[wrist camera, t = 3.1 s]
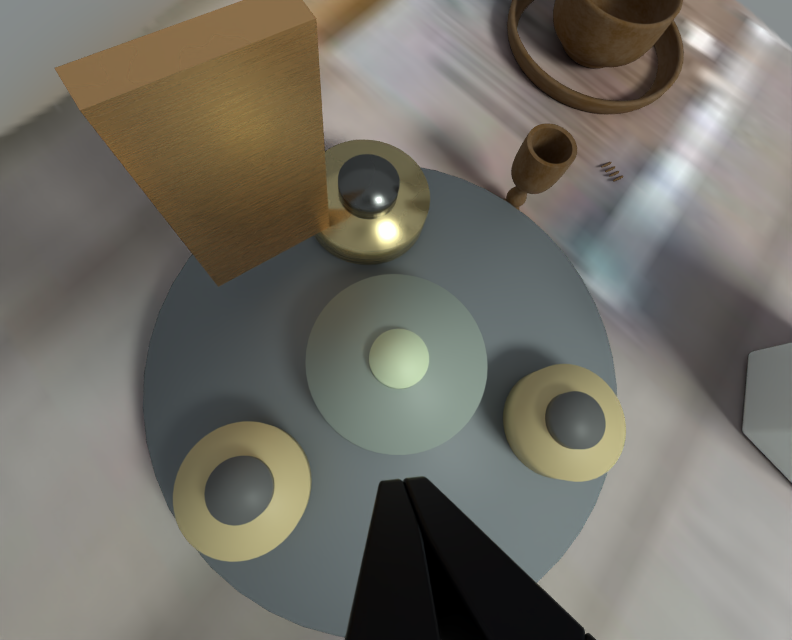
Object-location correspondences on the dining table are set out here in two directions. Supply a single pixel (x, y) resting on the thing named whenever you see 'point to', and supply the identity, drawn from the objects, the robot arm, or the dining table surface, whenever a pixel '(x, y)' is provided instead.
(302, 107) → the wooden slab
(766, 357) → the jar
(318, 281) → the plate
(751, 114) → the dining table surface
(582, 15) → the place setting
